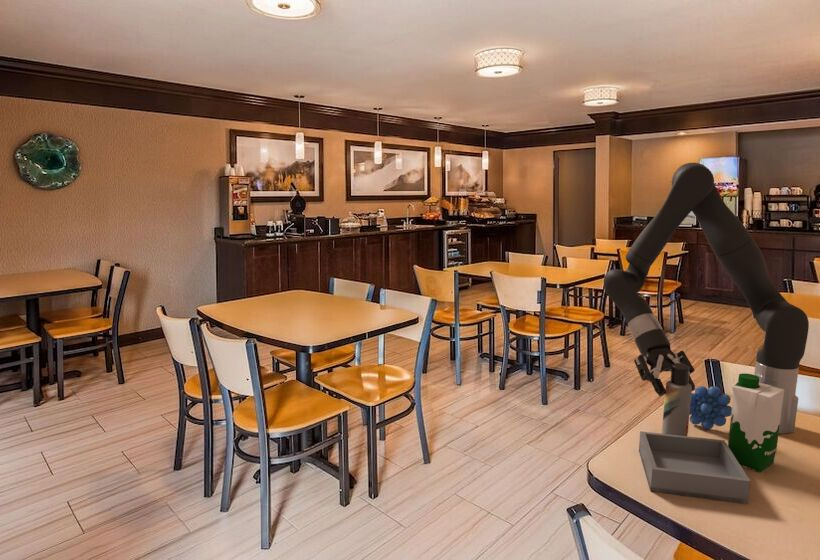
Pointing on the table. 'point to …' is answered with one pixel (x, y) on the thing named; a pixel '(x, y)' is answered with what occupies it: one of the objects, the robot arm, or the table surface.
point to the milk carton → (755, 422)
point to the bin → (692, 467)
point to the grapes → (709, 407)
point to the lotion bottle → (677, 401)
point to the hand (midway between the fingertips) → (677, 392)
